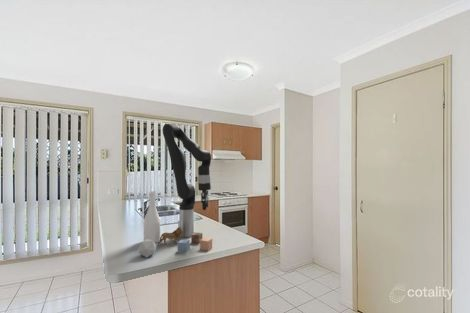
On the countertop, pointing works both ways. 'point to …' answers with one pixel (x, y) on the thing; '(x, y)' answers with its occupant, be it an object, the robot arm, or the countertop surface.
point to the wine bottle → (152, 221)
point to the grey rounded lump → (147, 247)
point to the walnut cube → (196, 238)
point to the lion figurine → (171, 236)
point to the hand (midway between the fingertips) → (205, 208)
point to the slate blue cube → (183, 245)
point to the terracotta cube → (206, 244)
